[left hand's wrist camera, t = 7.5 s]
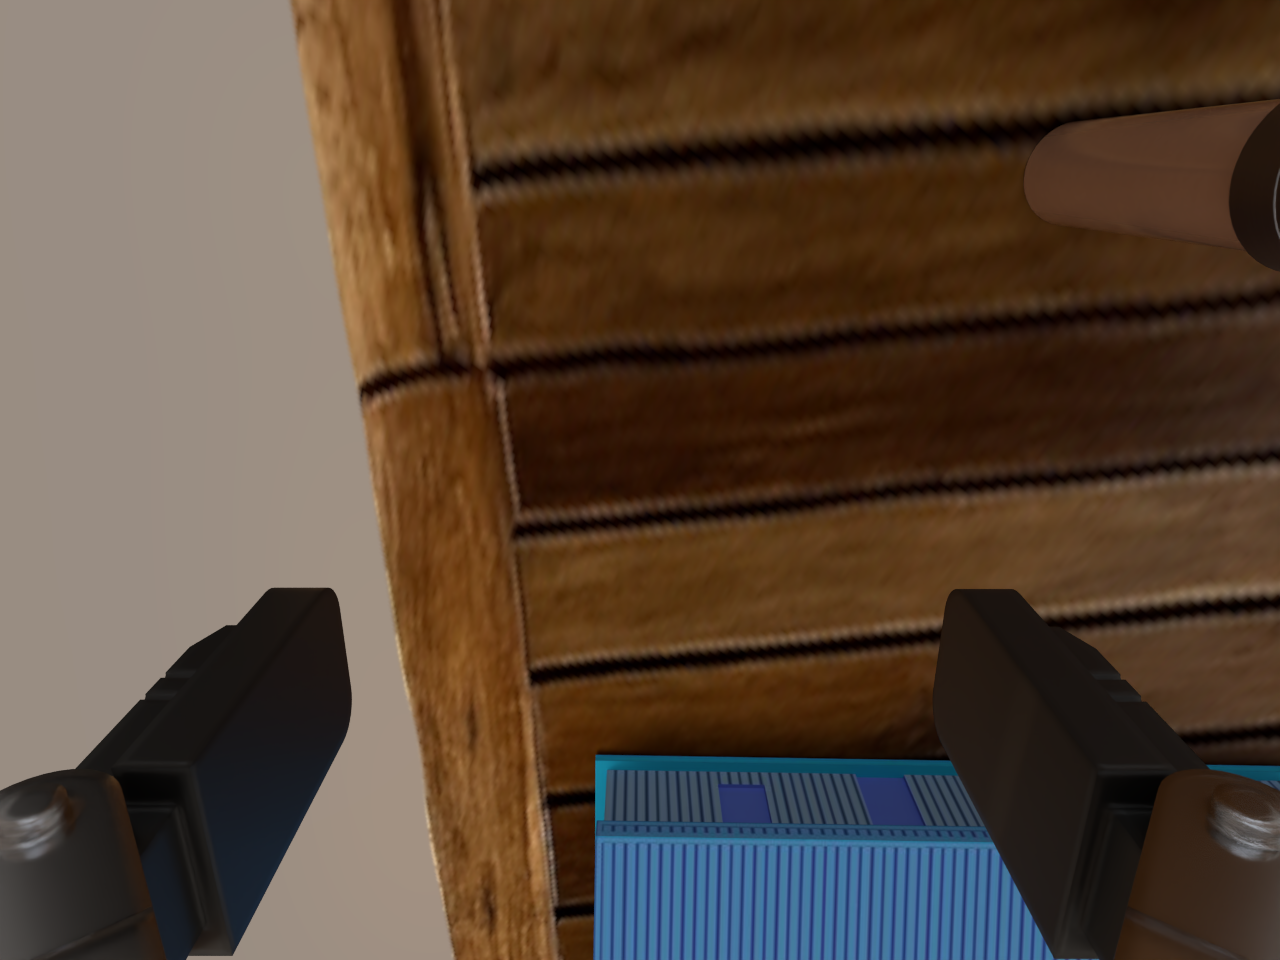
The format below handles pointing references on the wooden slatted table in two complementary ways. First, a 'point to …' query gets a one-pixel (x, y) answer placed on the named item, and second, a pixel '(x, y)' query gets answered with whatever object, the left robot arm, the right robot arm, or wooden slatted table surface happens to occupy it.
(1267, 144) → the lid
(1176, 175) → the brown cylinder
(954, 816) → the model building
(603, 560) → the wooden slatted table surface
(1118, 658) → the wooden slatted table surface
